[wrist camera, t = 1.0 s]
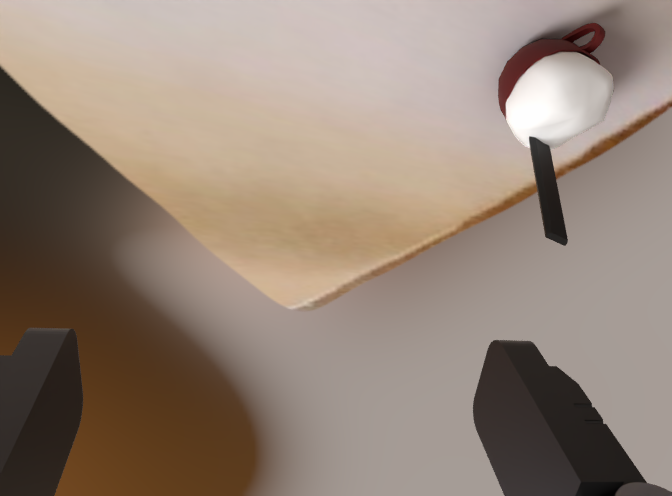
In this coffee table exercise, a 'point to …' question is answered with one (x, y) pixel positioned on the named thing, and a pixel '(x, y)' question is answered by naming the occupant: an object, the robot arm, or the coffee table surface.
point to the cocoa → (554, 106)
